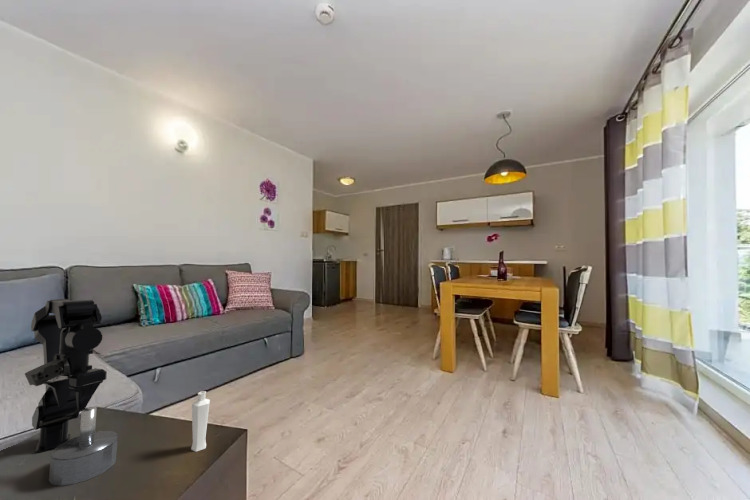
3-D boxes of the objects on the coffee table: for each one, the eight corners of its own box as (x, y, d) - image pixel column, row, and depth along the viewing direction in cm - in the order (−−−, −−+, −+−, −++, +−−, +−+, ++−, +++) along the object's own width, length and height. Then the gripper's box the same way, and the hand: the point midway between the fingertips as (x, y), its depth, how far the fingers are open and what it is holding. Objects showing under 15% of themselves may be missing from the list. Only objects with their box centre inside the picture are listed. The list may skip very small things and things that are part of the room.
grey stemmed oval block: (71, 457, 80) (75, 401, 81) (125, 451, 83) (129, 396, 84) (35, 489, 68) (40, 423, 69) (99, 480, 72) (104, 417, 73)
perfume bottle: (200, 453, 83) (203, 396, 84) (186, 451, 83) (189, 395, 84) (212, 444, 87) (215, 390, 88) (199, 442, 88) (202, 388, 89)
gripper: (13, 353, 77) (8, 417, 75) (51, 357, 70) (47, 428, 68) (71, 344, 87) (67, 401, 86) (109, 346, 80) (106, 408, 79)
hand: (71, 409), depth 79 cm, fingers open, 9 cm apart
